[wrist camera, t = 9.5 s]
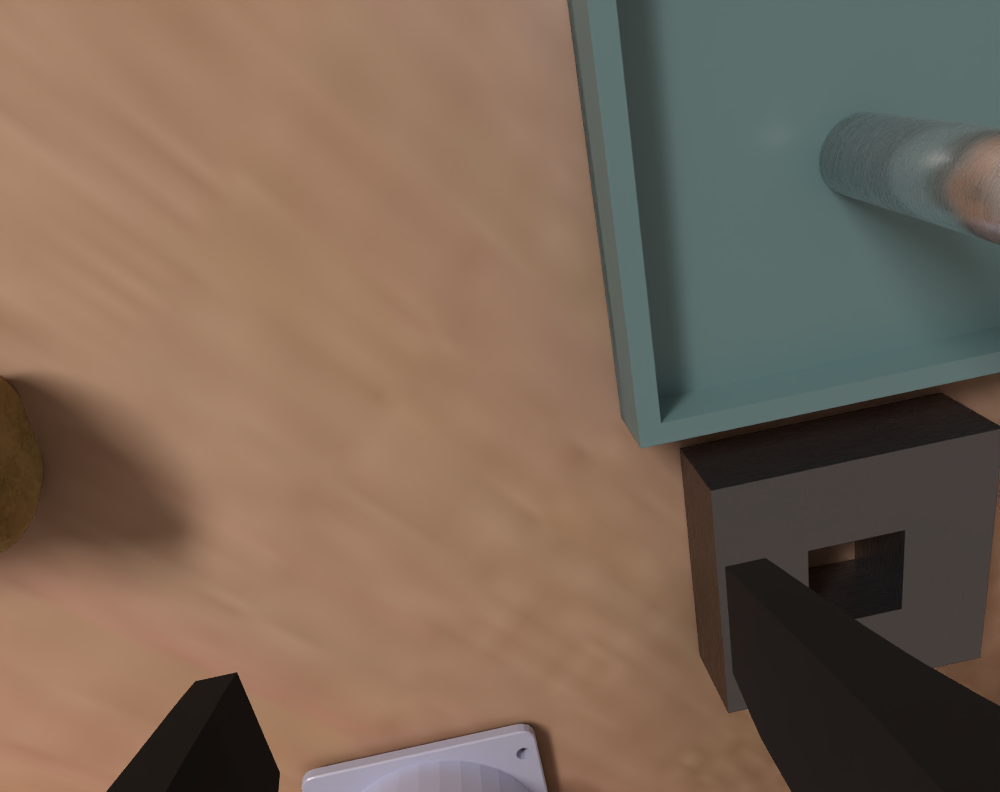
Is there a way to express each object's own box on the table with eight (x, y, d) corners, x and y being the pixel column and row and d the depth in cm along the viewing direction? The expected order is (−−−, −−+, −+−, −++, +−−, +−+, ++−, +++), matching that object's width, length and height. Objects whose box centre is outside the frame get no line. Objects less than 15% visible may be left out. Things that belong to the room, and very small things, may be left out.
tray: (1064, 323, 21) (1124, 345, 19) (621, 417, 21) (641, 448, 19) (1137, -241, 16) (1230, -284, 14) (551, -127, 16) (568, -156, 14)
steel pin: (917, 209, 19) (1280, 319, 11) (790, 234, 19) (1065, 362, 11) (929, 68, 18) (1357, 77, 10) (792, 93, 17) (1110, 123, 10)
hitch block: (928, 605, 25) (980, 657, 23) (699, 655, 25) (728, 713, 22) (941, 392, 22) (1003, 428, 19) (679, 448, 22) (710, 490, 19)
